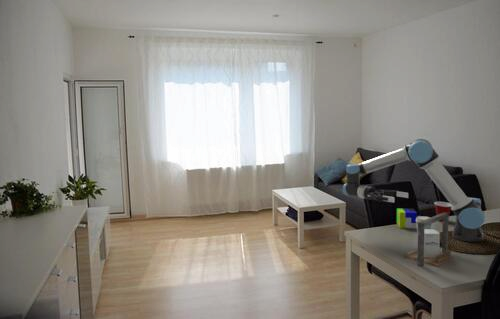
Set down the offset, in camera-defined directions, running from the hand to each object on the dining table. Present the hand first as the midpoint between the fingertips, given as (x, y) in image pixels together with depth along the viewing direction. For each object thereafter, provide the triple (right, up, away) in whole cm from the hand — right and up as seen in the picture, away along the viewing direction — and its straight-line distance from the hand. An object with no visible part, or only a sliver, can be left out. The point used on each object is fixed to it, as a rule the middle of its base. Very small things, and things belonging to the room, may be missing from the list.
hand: (401, 197), depth 194 cm
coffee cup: (+19, -25, +14) cm, 34 cm away
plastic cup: (+46, -20, +44) cm, 66 cm away
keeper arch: (+9, -29, -13) cm, 33 cm away
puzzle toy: (+19, -22, +38) cm, 48 cm away
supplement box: (+9, -28, -13) cm, 32 cm away
